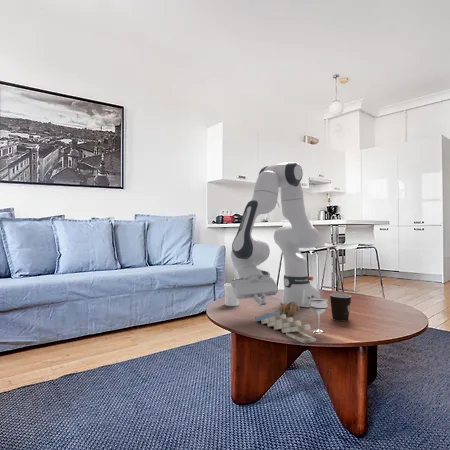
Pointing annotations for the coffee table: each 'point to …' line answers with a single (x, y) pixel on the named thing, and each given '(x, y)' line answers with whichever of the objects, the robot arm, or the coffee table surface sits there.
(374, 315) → the coffee table surface
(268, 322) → the domino
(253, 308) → the coffee table surface
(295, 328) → the domino
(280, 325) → the domino
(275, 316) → the domino
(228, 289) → the white cup
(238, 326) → the coffee table surface
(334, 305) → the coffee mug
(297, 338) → the domino
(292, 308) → the lion figurine
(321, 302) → the wineglass
